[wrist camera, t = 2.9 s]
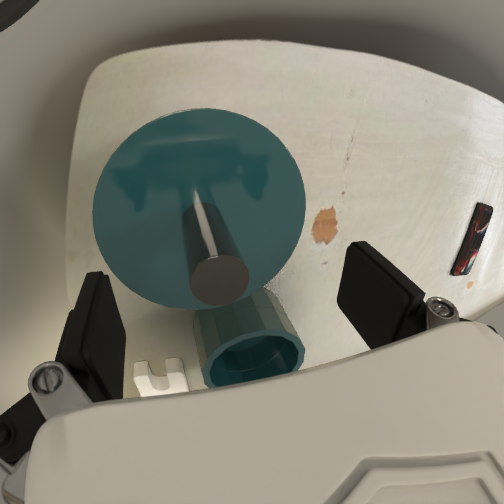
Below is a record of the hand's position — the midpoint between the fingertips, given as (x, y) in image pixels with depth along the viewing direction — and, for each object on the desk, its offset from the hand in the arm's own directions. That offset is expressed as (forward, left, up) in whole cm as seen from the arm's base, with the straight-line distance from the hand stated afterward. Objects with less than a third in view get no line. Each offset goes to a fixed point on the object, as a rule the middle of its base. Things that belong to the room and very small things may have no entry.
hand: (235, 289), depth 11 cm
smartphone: (+51, +5, -19) cm, 54 cm away
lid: (0, 0, -7) cm, 7 cm away
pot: (+11, -17, -19) cm, 28 cm away
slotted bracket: (+4, -32, -19) cm, 37 cm away
